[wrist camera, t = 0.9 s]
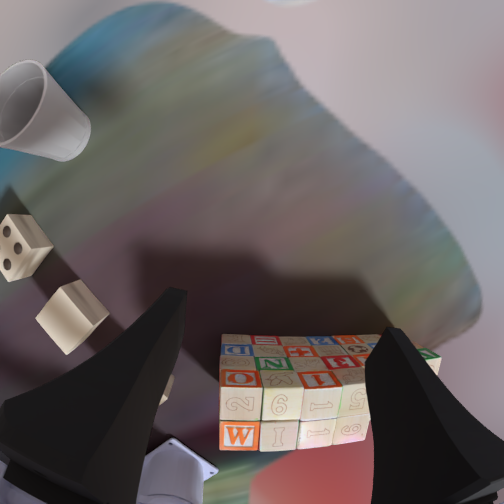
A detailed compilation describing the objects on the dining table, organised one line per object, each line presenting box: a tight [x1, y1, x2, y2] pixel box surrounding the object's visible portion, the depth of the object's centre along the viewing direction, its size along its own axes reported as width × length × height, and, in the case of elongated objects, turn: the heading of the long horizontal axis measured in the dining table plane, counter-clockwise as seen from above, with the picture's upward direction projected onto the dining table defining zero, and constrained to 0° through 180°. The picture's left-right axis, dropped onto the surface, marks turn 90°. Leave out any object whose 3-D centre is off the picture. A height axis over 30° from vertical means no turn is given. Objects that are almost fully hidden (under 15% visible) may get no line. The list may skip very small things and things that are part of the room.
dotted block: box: [0, 214, 54, 282], centre depth 28 cm, size 5×5×5 cm
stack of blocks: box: [219, 334, 441, 451], centre depth 28 cm, size 21×6×12 cm, turn 87°
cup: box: [0, 60, 91, 161], centre depth 24 cm, size 8×8×12 cm
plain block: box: [35, 279, 110, 355], centre depth 29 cm, size 5×5×5 cm
